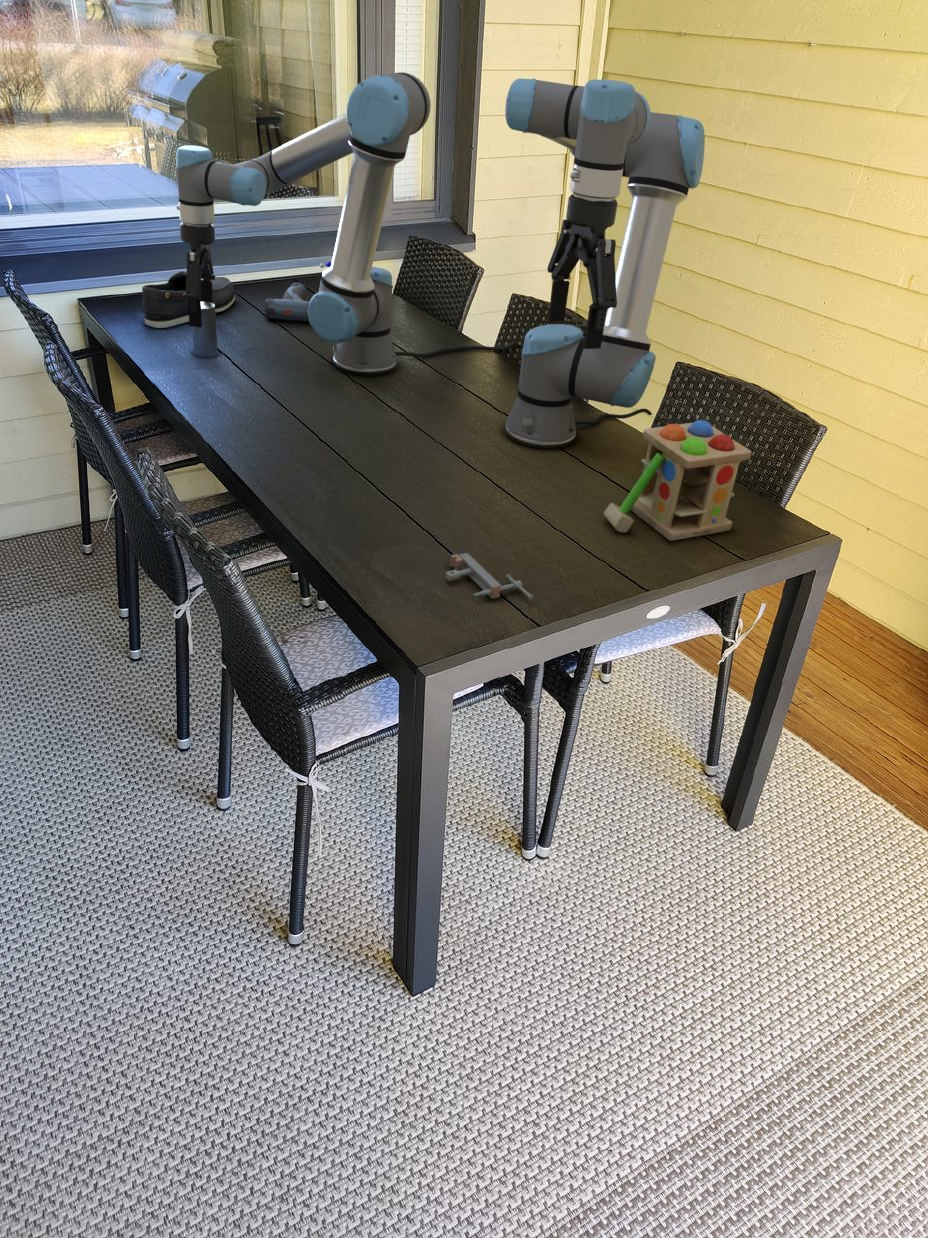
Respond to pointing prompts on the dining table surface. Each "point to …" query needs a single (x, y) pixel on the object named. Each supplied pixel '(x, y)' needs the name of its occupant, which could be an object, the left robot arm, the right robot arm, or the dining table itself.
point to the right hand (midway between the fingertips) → (573, 333)
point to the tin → (206, 332)
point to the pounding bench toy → (683, 482)
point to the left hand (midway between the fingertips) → (201, 317)
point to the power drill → (289, 304)
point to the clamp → (480, 576)
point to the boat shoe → (180, 300)
